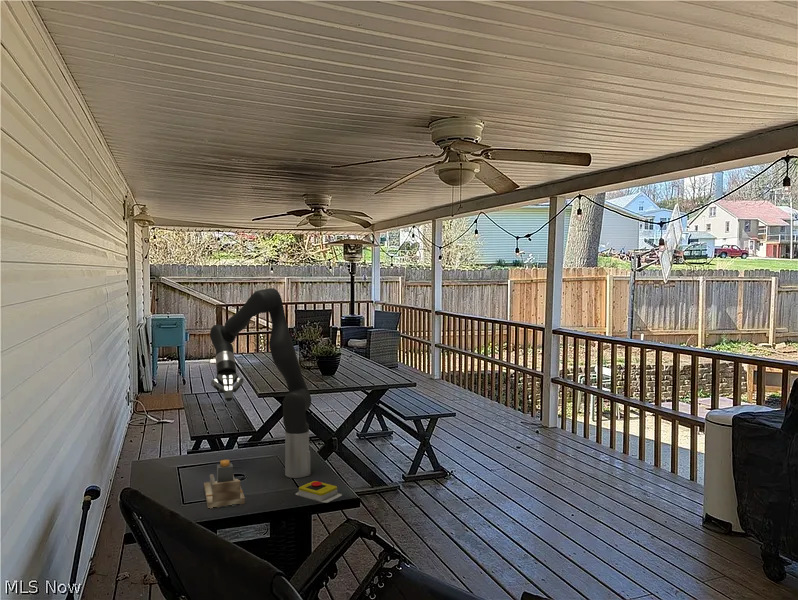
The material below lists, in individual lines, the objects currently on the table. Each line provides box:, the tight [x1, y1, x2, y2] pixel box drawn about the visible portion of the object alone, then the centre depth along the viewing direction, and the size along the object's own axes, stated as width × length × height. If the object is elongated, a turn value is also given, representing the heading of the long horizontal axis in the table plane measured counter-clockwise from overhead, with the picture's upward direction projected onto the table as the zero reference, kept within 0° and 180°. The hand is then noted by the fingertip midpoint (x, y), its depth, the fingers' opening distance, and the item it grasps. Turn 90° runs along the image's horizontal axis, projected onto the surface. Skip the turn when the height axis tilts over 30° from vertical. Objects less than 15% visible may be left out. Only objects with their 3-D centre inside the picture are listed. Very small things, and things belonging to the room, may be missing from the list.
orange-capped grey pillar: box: [216, 459, 234, 483], centre depth 198 cm, size 5×4×12 cm
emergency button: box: [295, 480, 343, 504], centre depth 204 cm, size 9×4×15 cm
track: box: [203, 473, 246, 509], centre depth 202 cm, size 12×21×8 cm, turn 22°
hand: (229, 400), depth 222 cm, fingers closed
